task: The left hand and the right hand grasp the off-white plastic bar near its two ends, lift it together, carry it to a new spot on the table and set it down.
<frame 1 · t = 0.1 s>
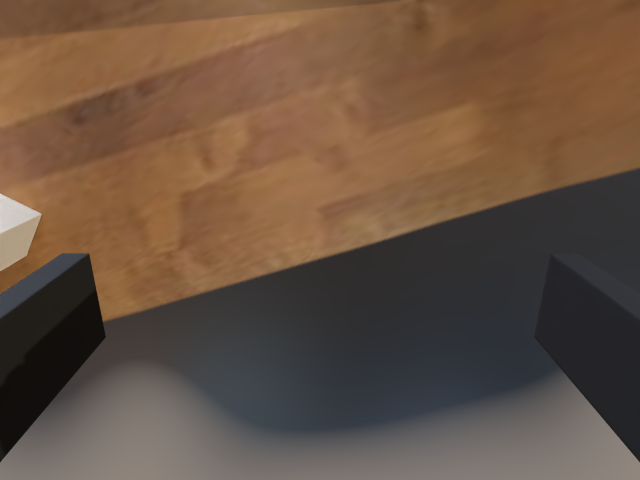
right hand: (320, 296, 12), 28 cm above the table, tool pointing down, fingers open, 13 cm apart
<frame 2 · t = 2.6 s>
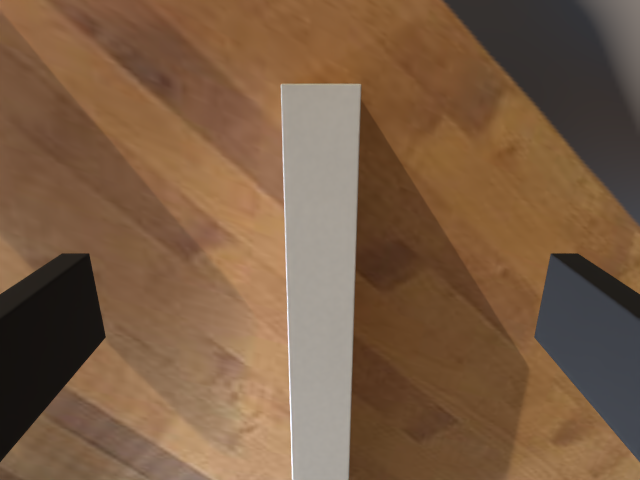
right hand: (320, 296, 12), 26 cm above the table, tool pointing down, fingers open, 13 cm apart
bar: (320, 365, 44), on the table, touching left hand
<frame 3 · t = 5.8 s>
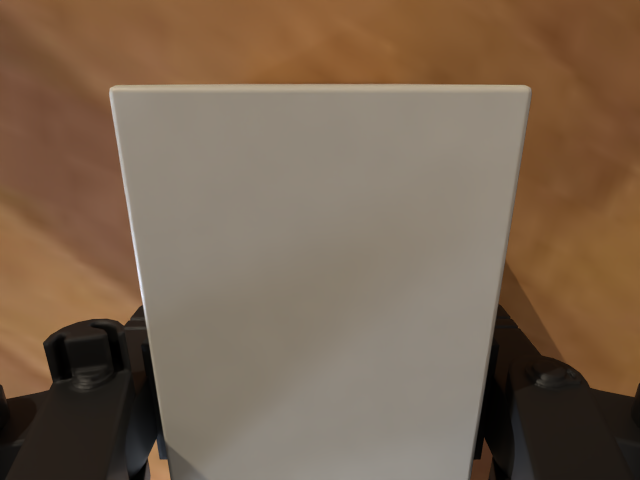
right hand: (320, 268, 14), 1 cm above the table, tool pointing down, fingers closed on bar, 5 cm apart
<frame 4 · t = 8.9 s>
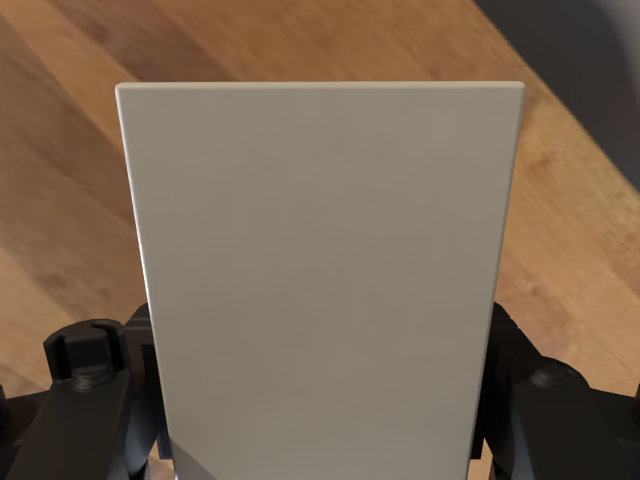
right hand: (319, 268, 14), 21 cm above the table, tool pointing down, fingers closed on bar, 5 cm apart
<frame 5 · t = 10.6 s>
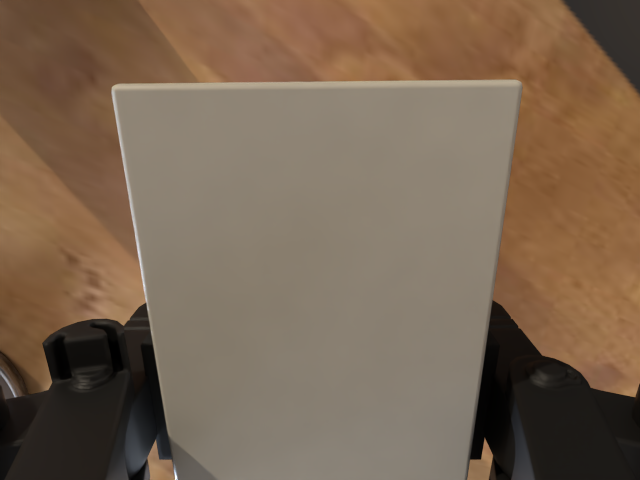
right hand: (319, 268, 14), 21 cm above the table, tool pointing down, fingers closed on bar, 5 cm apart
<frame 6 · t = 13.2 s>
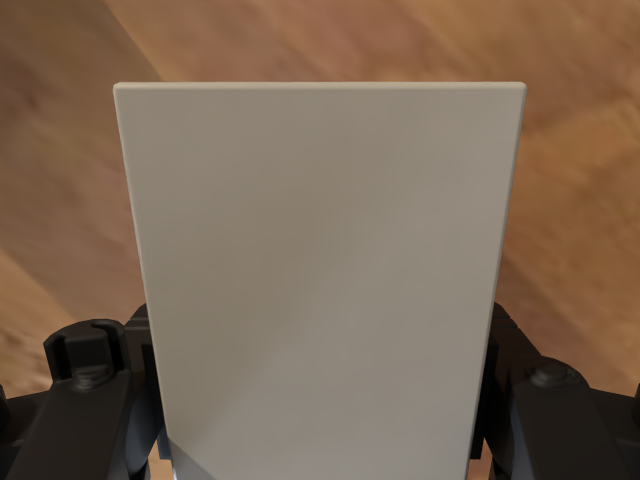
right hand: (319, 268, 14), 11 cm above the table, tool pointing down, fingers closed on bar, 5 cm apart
when the right hand's fingers open (1 cm above the table, at t = 15.2 s): bar stays where it is, on the table.
when the left hand's fingers open (4 cm above the table, at t = 15.4 s): bar stays where it is, on the table.
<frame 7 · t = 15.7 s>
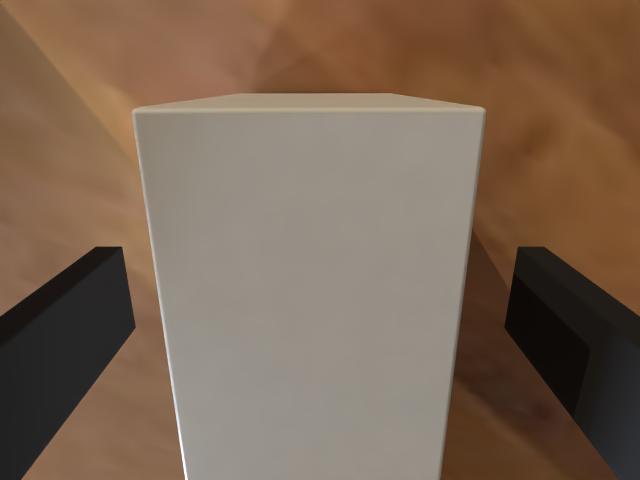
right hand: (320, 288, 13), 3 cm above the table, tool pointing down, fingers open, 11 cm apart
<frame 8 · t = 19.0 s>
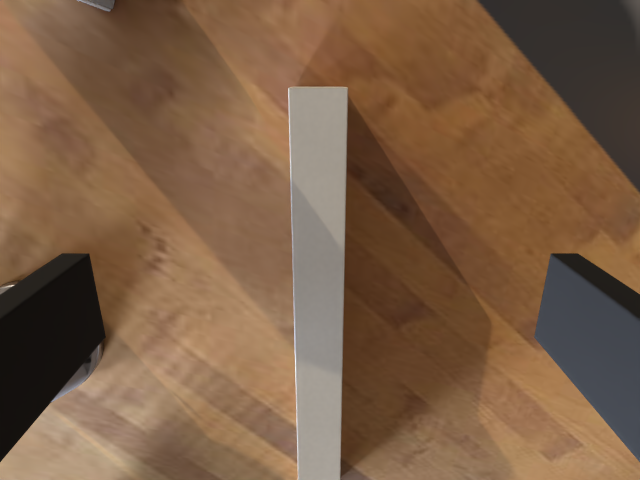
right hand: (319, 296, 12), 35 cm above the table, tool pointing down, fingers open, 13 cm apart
bar: (319, 318, 53), on the table
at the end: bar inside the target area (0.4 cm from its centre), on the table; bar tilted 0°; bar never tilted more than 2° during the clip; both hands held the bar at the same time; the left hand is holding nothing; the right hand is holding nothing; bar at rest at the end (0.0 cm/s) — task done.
